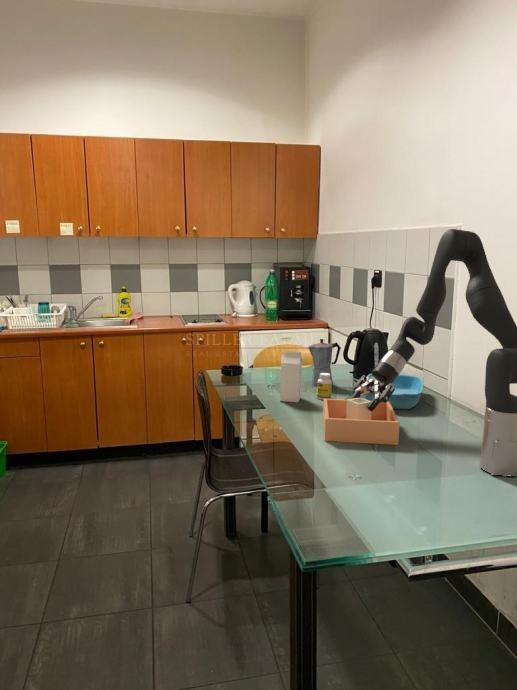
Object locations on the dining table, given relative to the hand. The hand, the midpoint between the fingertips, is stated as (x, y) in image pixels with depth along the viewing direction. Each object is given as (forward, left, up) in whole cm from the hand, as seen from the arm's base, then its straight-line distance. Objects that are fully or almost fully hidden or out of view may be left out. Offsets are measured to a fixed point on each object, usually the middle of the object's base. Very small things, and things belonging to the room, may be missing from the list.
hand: (360, 406), depth 171 cm
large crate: (0, 0, -8) cm, 8 cm away
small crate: (0, 0, -7) cm, 7 cm away
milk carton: (+32, +23, -8) cm, 40 cm away
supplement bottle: (+36, +10, -8) cm, 38 cm away
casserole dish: (+40, -16, -9) cm, 44 cm away
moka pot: (+57, +10, -8) cm, 58 cm away
